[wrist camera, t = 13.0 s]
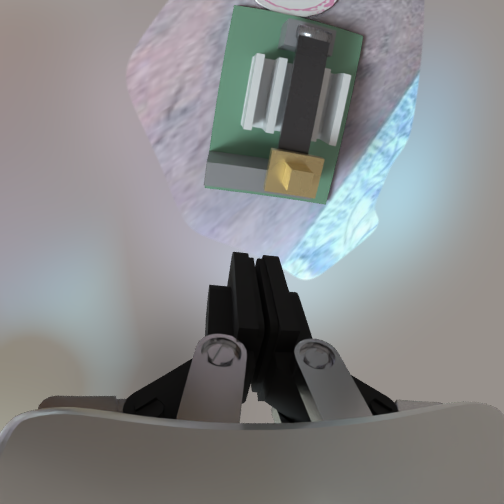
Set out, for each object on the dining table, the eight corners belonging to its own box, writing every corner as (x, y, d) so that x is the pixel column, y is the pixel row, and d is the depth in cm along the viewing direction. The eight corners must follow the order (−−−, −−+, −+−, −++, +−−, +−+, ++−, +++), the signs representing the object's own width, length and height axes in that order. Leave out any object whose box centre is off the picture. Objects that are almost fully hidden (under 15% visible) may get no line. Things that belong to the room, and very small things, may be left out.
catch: (270, 147, 28) (276, 155, 25) (321, 156, 29) (332, 165, 26) (263, 187, 30) (267, 199, 27) (312, 195, 31) (321, 207, 28)
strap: (297, 25, 24) (300, 22, 23) (328, 33, 25) (333, 31, 23) (271, 164, 31) (274, 167, 29) (301, 169, 31) (305, 172, 30)
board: (234, 7, 27) (236, -9, 21) (359, 37, 29) (385, 30, 23) (205, 185, 37) (201, 204, 32) (323, 201, 40) (339, 223, 34)
